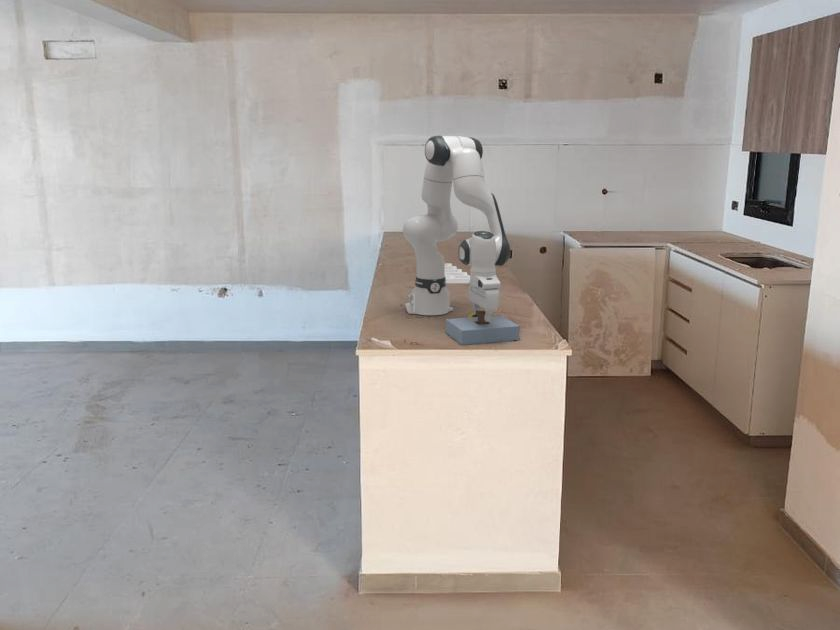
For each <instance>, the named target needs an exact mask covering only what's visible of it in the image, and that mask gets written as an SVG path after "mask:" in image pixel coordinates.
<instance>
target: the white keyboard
mask: <svg viewBox="0 0 840 630" xmlns="http://www.w3.org/2000/svg"><path fill="white" fill-rule="evenodd" d="M445 277H446V284H469V282H470V274H468V272H467V271H463V270H462V268H458V267H457V265H453V263H451V262H450V263H448V262H447V263H446V262H445Z"/></svg>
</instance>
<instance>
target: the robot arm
mask: <svg viewBox="0 0 840 630" xmlns="http://www.w3.org/2000/svg"><path fill="white" fill-rule="evenodd" d="M483 154H484V150H483V145H482V143H481V141H480V140H478V139H477V138H475V137H468V136H467V137H466V136H461V135H435V136H431V137H429V138H428V139H427V141H426V142H425V145H424V156H425V158H426V162H427V163H426V165H425V170H424V176H423V182H422V190H421V194H420V195H421V199H422V201H423V202H424V203H425V204H426V206H427V213H426V214H419V215H414V216H412V217H410V218H408V219H406V220H405V222H404V223H403V227H402V232H403V237H404V239H405V241H407V242H408V243H409V244H410V245H411V247H412V249H413V251H414V254H415V259H416V276H415V280H414V282H415V283H414V288H413V289H412V291H410V294H407V301H410V302H406V303H405V305H404V307H405V309H406V313H407V314H411V315H412V314H413V315H419V316H441V315H442V316H443V315H446V314H448V313H449V312H452V311H454V308H453V307H451V304H450V302H451V301H450V291H449V290H448V288H447V287H446V286H447V283H446V277H445V263H446V262H445V261H446V260H445V257H444V254H442V253H441V252H439V250H438V247H437V242H442V241H443V242H445V241H447V240H449V239H451V238H453V237H454V236H456V234H457V232H458V227H459V226H458V225H459V224H458V221H457V218H456V217H455V216H454V215H453V211H452V209H451V208H452V207H451V194H452V188H453V191H454V195H455V197H456V198H457V199H458V201H459V202H461V203H462V204H464V205H467V206H468V207H471V208H474V209H477V210H479V211H481V212H482V213H483V214H484V215H485V216H486V219H487V223H488V227H489V230H490V231H485V230H477V231H475V232H473V233H472V235H471V237H470V238H466V239H464V240H462V242H461V243H460V244H459V246H458V260H459V261H460V262H461V264H463V265H464V266H469V267H470V269H469V270H470V271H469V273H470V274H469V275H470V282H469V283H468V290H467V299H468V300H469V301H471V302H472V306H473V309H474V311H473V312H474V314H475V315H477V316H478V311H481V310H480V309H481V308H483V309H484V311H485V312H486V313H485V316H484V321H486V322H489V321H490V317H491V314H493V312H496V311H497V310H498V308H499V305H500V304H499V303H500V289H501V286H502V285H501V281H500V280H499V278H498V275H497V268H496V266H497V267H502V266H504V265H505V264H506V263H507V262H508V261H509V260H510V258H511V253H512V251H511V246H510V243H509V242H510V241H508V238H507V235H506V232H505V228H504V224H503V223H504V222H503V220H502V217H501V212H500V207H499V205H498V201H497V199H496V197H495V194H494V193H491V191H489V189H488V187H487V185H486V183H485V174H484V169H483V164H482V158H483ZM452 186H453V187H452ZM480 307H481V308H480Z"/></svg>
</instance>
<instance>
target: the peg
mask: <svg viewBox="0 0 840 630" xmlns="http://www.w3.org/2000/svg"><path fill="white" fill-rule="evenodd" d="M485 313H486V312H485V310H482V309H481V310H480V311H478V325H480V324H487V322H486V321H484V316H485Z"/></svg>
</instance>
